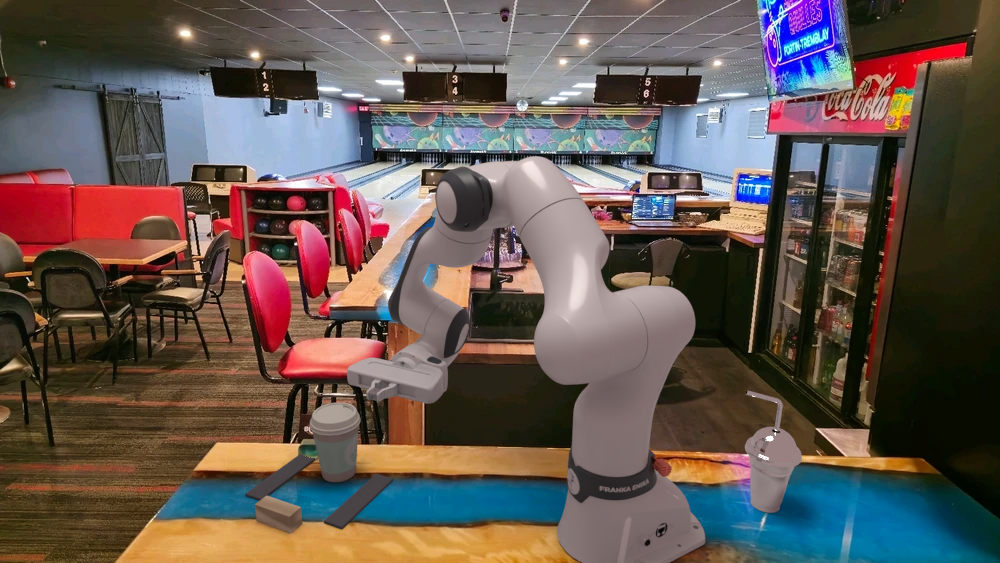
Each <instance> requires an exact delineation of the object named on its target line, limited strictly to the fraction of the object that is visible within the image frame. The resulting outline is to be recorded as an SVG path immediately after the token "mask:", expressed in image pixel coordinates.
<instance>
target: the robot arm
mask: <svg viewBox="0 0 1000 563" xmlns="http://www.w3.org/2000/svg"><path fill="white" fill-rule="evenodd" d="M434 195H435V197H434V198H435V199H434V200H435V206H436V214H435V219H434V220H435V221H434V223H433V226H427V227H425V228H424V229H423V230H422V231H420V232H419V234H418V235H417V236H416V238H415V239H414V241H413V243H412V244H411V246H410V249H409V252H408V253H407V254H408V255H407V256H406V259H405V261H404V265H403V267H402V270H401V273H400V275H399V278H398V280H397V283H396V285H395V286H394V287H393V290H392V292H391V294H390V296H389V298H388V301H387V309H388V312H389V313H388V314H389V317H390V318H391V320H392V321H394V322H396V323H398V324H400V325H402V326H404V327H407V328H409V329H410V330H412V331H413V332H415V333H417V334H419V335H421V337H418V339H416V341H414V343H410V344H408V345H406V346H405V347H404V348H402V349H401V350H399V351H398V352H396V353H395V354H393V356H392V357H391V358H390V360H388V359H387V360H386V359H382V358H377V357H367V358H363V359H361V360H359V361H357V362H355V363H353V364H351V365H349V366H348V367H347V370H346V377H347V382H348V384H349V385H350V386H353V387H354V386H355V387H359V388H362V389H366V391H365V395H366V399H367V400H373V401H376V402H378V403H379V402H380V403H381V401H383V400H384V399H390V398H393V397H398V398H402V399H406V400H409V401H414V402H417V403H423V404H426V405H429V404H434V403H436V402H437V401H438V400H439V399H441V397H442V396H443V395H444V393H445V392H446V391H447V389H448V381H449V379H448V378H449V375H448V373H449V372H448V367H449V366H450V365H451V364H452V363H453V361H454V360H455V359H456V358H457V357H458V355H459V354H460V351H461V350H462V348H463V347H464V345H465V344H466V342H467V341H468V338H469V336H470V332H471V319H470V316H469V312H468V310H467V309H466V308H464V307H462V306H461V305H460V304H457V303H456V302H454V301H453V300H451V299H449V298H447V297H445V296H443V295H441V294H440V293H438V292H436V291H434V290H433V289H431V288H430V287H429V286H427V285H426V283H425V281H424V278H425V276H426V274H427V271H428V269H429V266H430V265H436V266H442V267H446V268H454V269H456V268H465V267H468V266H471V265H474V264H476V263H477V262H478V261H479V260H481V259H482V258H483V257H484V256H485V254H486V253H487V250H488V248H489V245H490V242H491V239H492V235H493V231H494V229H499V228H503V229H505V228H506V229H507V228H511V227H514V230H515V231H516V234H517V236H518V237H519V238H520V241H521V243H522V245H523V247H524V248H525V250H526V253H527V254H528V257H529V258H530V260H531V262H532V264H533V265H534V268H535V271H537V274H538V276H539V279H540V281H541V284H542V288H543V295H544V308H543V313H542V315H541V318H540V319H539V321H538V323H537V325H536V328H535V331H534V338H533V347H534V354H535V357H536V359H537V362H538V364H539V366H540V368H541V369H542V371H543V372H544V373H545V374H546V375H547V376H548V377H549V378H550V379H551V380H552V381H554V382H555V383H558V384H559V385H564V386H566V385H567V386H568V385H584V384H585V385H586V384H587V386H585V388H584V389H583V390H582V391H581V393H580V394H579V395H578V397H577V398H576V400H575V403H574V408H573V412H572V413H573V414H572V415H573V416H572V438H571V440H572V441H571V447H570V448H569V451H568V457H567V458H568V459H567V476H566V478H567V494H566V500H565V504H564V509H563V512H562V514H561V517H560V520H559V522H558V524H557V529H556V530H557V531H556V533H557V539H558V542H559V544H560V545H561V547H562V548H563V549H564V551H565V552H566V553H567V554H569V555H570V556H571V557H572V558H574V559H575V560H576V561H578V562H580V563H671V562H674V561H675V560H678V559H680V558H681V557H683V556H685V555H687V554H689V553H691V552H693V551H694V550H696V549H699V548H700V547H702V546H703V545H705V543H706V534H705V530H704V528H703V526H702V524H701V523H700V521H699V520H698V518H697V517H696V516H695V514H693V513H692V512H691V509H690V508H691V507H690V505H689V501H688V500H687V498H686V495H685V494H684V493H683V491H682V490H681V489H680V488H679V486H677V485H676V484H675V483H674V482H673V481H672V480H671V479H669V478H668V476H669V475H670V474H671V473H672V470H673V469H672V468H673V467H672V466H671V464H669V463H668V462H666V459H664V458H657V457H656V454H655V453H654V452H653V451H652V450H651V449H650V441H651V433H652V432H651V431H652V424H653V423H652V422H653V419H654V418H653V417H654V413H655V408H656V406H657V403H658V400H659V398H660V394H661V392H662V390H663V388H664V385H665V382H666V380H667V378H668V375H669V374H670V371H671V369H672V367H673V365H674V362H675V361H676V360H677V357H678V356H679V355H680V353H681V352H682V351H683V349H684V348H685V347H686V345H688V344H689V342H690V341H691V340H692V339H693V336H694V334H695V330H696V316H695V311H694V309H693V306H692V304H691V302H690V301H689V299H688V297H687V296H685V294H684V293H682V292H681V291H680V290H678V289H676V288H675V287H672V286H665V285H646V284H644V285H639V286H635V287H630V288H626V289H622V290H617V291H611V290H610V289H609V288H608V287H607V286H606V284H605V281H604V278H603V275H602V271H601V270H603V268H604V266H605V265H606V263H607V260H608V257H609V254H610V242H609V240H608V238H607V236H606V234H605V233H604V231H603V230H602V228H601V226H600V225H599V223H598V222H597V220H596V218H595V216H594V214H593V213H592V212H591V210H590V209H589V207H588V206H587V204H586V202H585V201H584V199H583V198H582V196H581V195H580V193H579V191H578V190H577V188H576V187H575V186H574V185H573V184H572V181H570V180H569V178H568V177H567V176H566V175H565V174H564V173H563V172H562V170H561V169H560V168H558V166H557V165H556V164H555V163H554V162H553V161H551V160H550V159H548V158H547V157H543V156H537V155H535V156H526V157H524V158H522V159H520V160H506V161H499V160H498V161H497V160H495V161H488V162H484V163H483V162H482V163H477V164H474V165H470V166H457V167H455V168H451V169H450V170H448V171H446V172H444V173H443V174H442V175H441V176H440V178H439V180H438V182H437V184H436V187H435V193H434Z"/></svg>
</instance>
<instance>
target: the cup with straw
mask: <svg viewBox="0 0 1000 563" xmlns="http://www.w3.org/2000/svg"><path fill="white" fill-rule="evenodd" d="M745 395H746V396H750V397H753V398H757V399H761V400H764V401H768V402H772V403H775V404H777V410H776V418H775V425H774V426H766V427H762V428H760V429H759V430H757V431H756V432H755V433H754V434H753V436H751V437H749V438H748V439H747V440H746V442H745V444H744V450H745V452H746V454H747V455H748V457H749V458H748V459H749V465H750V477H749V478H750V480H749V481H750V483H749V484H750V491H749V492H750V493H749V494H750V497H751V498H750V502H749V503H750V504H751V506H752V507H753V508H755V509H756V510H758V511H761V512H763V513H768V514H771V513H772V514H773V513H777V512H779V510H780V509H781V504H782V503H783V500H784V496H785V493H786V490H787V486H788V482H789V480H790V477H791V475H792V473H793V470H794V469H795V467H796V466H798V465H799V464H801V463H802V461H803V460H802V459H803V458H802V451H801V450H800V448H799V447H798V446H797V444H796V442H795V439H794V437H792V435H791V434H790V433H789V432H787V431H786V430H784V429H783V428H780V427H781V426H780V425H781V419H782V414H783V408H784V407H783V405H784V404H783V402H782V400H781V399H779V398H778V397H774V396H769V395H767V394H766V395H765V394H762V393H758V392H755V391H750V390H746V392H745Z"/></svg>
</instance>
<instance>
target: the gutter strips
mask: <svg viewBox="0 0 1000 563" xmlns="http://www.w3.org/2000/svg"><path fill="white" fill-rule="evenodd" d="M314 460H315V458H311V457H310V458H309V457H307V456H306V457H305V456H303V455H301V453H299V454H298V455H297V456H295V457H294V458H292V459H291V460H290V461H289V462H287V463H286V464H284V465H282V466H281V467H280V468H279V469H277V470H276V471H274V472H273V473H272V474H271V475H269V476H268V477H266V478H265V479H263V480H262V481H261V482H259V483H258V484H257V485H255V486H254V487H252V488H251V489H250V490H248V491H247V492H246V493H245V496H246V497H248V498H251V499H254V500H256V501H258V502H259V501H260V500H261V499H263V498H264V497H265V496H270V495H272V494H273V493H274V492H275V491H277V490H278V489H279V488H281V487H282V486H283V485H285V484H286V483H287V482H289V481H291V479H293V478H294V477H296V476H297V475H298V474H300V473H301V472H302V471H303V470H304V469H306V468H307V467H309V466H310V465H311V464H312V463H314V462H315V461H316V460H315V461H314ZM313 461H314V462H313ZM393 481H394V478H393V477H388V476H385V475H383V474H378V473H375V474H374V475H373V476H372V477H370V479H369V480H367V481H366V482H365V483H364V484H363V485H362V486H361V487H360V488H359V489H358V490H356V491H355V492H354V493H353V494H351V496H350V497H348V499H347V500H346V501H344V502H343V503H342V504H340V505H339V507H338V508H336V509H335V510H334V511H333V512H332V513H331V514H330V515H329V516H327V517H326V519H324V520H323V523H324V524H326V525H329V526H331V527H335V528H337V529H340V530H343V529H344V528H345V527H346V526H347V525H349V523H350V522H352V520H353V519H355V518H356V517H357V516H358V515H359V514H360V513H361V512H362V511H363V510H364V509H365V508H366V507H367V506H369V504H370V503H372V501H374V499H376V498H377V497H378V496H379V495H380V493H382V492H383V491H385V489H386V488H387V487H388V486H389V485H390V484H391V483H392V482H393Z"/></svg>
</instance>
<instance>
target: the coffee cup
mask: <svg viewBox="0 0 1000 563" xmlns="http://www.w3.org/2000/svg"><path fill="white" fill-rule="evenodd" d="M360 423H361V417H360V414H359V412H358V410H357V408H356V407H355V406H354V405H353V404H350V403H348V402H331V403H328V404H327V403H326V404H323V405H320V406H319V407H318V408H316V409H315V410H314V411H313V412H312V414H311V418H310V420H309V429H310V430H311V431H312V436H313V440H314V445H315V450H316V453H317V456H318V462H319V467H320V471H321V476H322V478H323V479H324V481H327V482H329V483H341V482H345V481H348V480H350V479H351V478H352V477H354V476H355V474H356V472H357V460H358V459H357V456H358V444H359V443H358V439H359V425H360Z"/></svg>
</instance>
